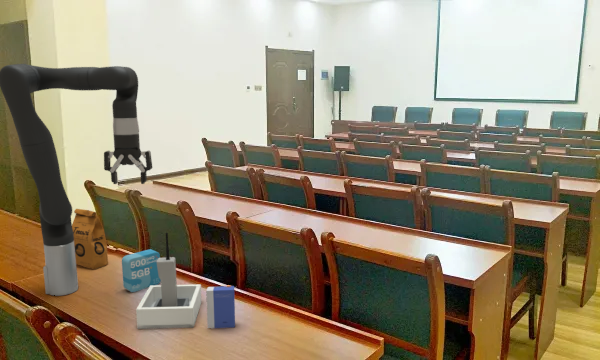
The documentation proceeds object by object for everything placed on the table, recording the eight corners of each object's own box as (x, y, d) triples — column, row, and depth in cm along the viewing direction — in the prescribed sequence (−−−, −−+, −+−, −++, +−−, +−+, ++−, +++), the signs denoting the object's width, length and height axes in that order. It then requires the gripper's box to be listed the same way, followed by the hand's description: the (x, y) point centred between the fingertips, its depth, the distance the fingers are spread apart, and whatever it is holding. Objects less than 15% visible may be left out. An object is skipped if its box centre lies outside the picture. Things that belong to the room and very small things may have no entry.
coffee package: (90, 272, 183) (85, 215, 179) (69, 265, 189) (64, 210, 185) (112, 264, 191) (108, 209, 187) (92, 258, 198) (88, 205, 194)
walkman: (235, 322, 145) (234, 284, 142) (234, 327, 142) (233, 288, 140) (208, 324, 144) (206, 285, 142) (207, 328, 141) (205, 289, 139)
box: (137, 328, 141) (136, 309, 140) (151, 303, 158) (150, 285, 156) (193, 327, 142) (192, 308, 141) (201, 301, 159) (200, 284, 157)
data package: (129, 293, 165) (127, 259, 162) (123, 289, 168) (121, 256, 165) (161, 283, 173) (159, 251, 171) (154, 279, 176) (153, 248, 174)
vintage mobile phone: (161, 309, 151) (156, 231, 146) (177, 308, 152) (174, 230, 147) (159, 314, 147) (154, 234, 143) (176, 313, 148) (172, 234, 143)
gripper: (98, 133, 148) (102, 186, 151) (146, 133, 149) (149, 185, 152) (106, 131, 155) (110, 181, 158) (152, 131, 156) (155, 181, 159)
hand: (129, 183), depth 155 cm, fingers open, 8 cm apart
